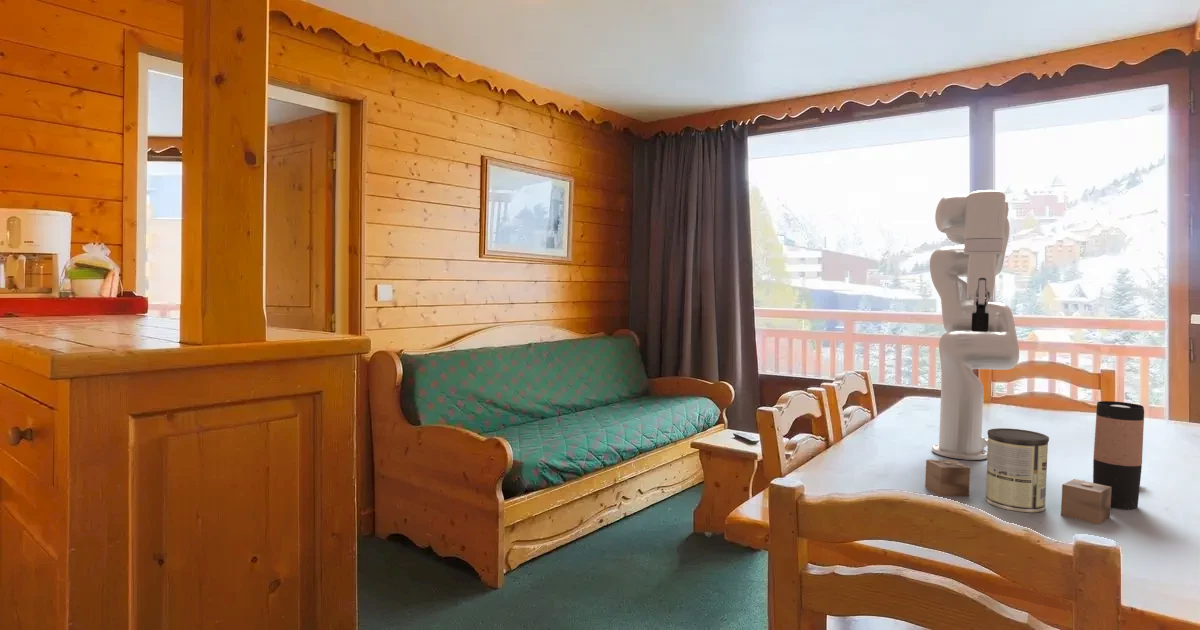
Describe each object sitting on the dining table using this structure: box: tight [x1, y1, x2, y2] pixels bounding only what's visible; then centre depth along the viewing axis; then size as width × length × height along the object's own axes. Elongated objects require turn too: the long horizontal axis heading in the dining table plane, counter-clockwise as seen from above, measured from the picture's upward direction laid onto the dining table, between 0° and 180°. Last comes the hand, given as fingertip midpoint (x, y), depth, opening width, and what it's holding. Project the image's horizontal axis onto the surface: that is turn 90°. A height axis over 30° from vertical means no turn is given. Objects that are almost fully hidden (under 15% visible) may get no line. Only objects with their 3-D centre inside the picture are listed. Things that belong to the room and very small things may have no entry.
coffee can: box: [984, 427, 1050, 513], centre depth 133 cm, size 10×10×14 cm
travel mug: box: [1092, 400, 1145, 511], centre depth 134 cm, size 8×8×20 cm
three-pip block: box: [924, 459, 971, 497], centre depth 141 cm, size 6×6×6 cm
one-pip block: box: [1060, 478, 1112, 526], centre depth 127 cm, size 6×6×6 cm
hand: (979, 331), depth 149 cm, fingers closed
